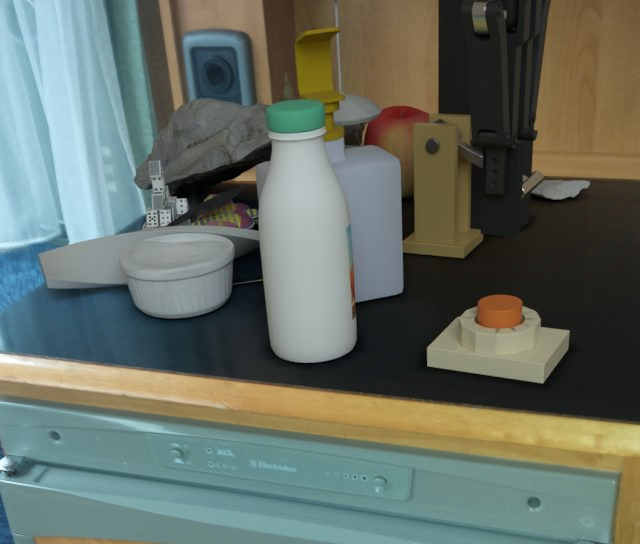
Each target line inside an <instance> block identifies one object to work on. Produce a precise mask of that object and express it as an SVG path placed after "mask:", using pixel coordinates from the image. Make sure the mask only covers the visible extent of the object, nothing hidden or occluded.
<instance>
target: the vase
mask: <svg viewBox="0 0 640 544" xmlns="http://www.w3.org/2000/svg"><path fill="white" fill-rule="evenodd" d="M437 1H438V3H437V5H438V9H437V10H438V12H437V13H438V14H437V15H438V26H437V27H438V29H437V33H438V34H437V35H438V38H437V39H438V40H437V41H438V42H437V45H438V50H437V51H438V52H437V53H438V54H437V55H438V56H437V57H438V58H437V60H438V61H437V63H438V64H437V65H438V66H437V67H438V69H437V70H438V71H437V73H438V74H437V75H438V77H437V79H438V83H437V84H438V89H437V91H438V93H437V94H438V95H437V97H438V100H437V101H438V103H437V106H438V109H437V112H438V113H437V114H460V115H470V99H469V82H468V66H467V49H466V37H465V33H464V28H463V23H462V19H461V7H462V3H463V1H465V0H437ZM528 129H529V130H535V124H534V125H532V126H531V125H528ZM521 143H525V147H524V166H523V175H525V176H526V177H529V176H530V175H531V174H532V173H533V172H532V171H533V156H534V154H533V153H534V152H533V151H534V141H526V140H521ZM473 148H475V149H477V150H479V151H481V152H483V147H473ZM482 171H483V168H481V167H479V166H477V165H476V164H474V163H472V162H471V216H470V229H480V230H481V203H482ZM530 209H531V193H530V194H528V195H527V196H526V197H525V198H524V199H523V200H522V203H521V221H520V229H522V228H524V227H525V226H526V225H527V224H528V223H529V222H530V213H531V212H530V211H531V210H530ZM483 236H488V235H487V234H483Z"/></svg>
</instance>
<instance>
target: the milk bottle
mask: <svg viewBox="0 0 640 544" xmlns="http://www.w3.org/2000/svg"><path fill="white" fill-rule="evenodd" d="M269 105H270V106H269V107H268V108H267V109H266V121H267V127H268V129H269V130H268V131H269V134H268V137H269V138H271V141H272V154H271V160H270V166H269V170H268V174H267V177H266V180H265V183H264V186H263V190H262V193H261V197H260V202H258V210H259V214H258V223H257V224H258V231H259V239H260V247H259V251H260V260H261V271H262V276H263V290H264V300H265V308H266V317H267V318H266V319H267V328H268V337H269V342H270V348H271V350H272V351H273V353H274V354H275V355H276V356H277V357H278V358H280V359H282V360H285V361H288V362H293V363H300V364H301V363H304V364H309V363H313V364H314V363H322V362H328V361H332V360H336V359H338V358H341V357H343V356H345V355H347V354H348V353H350V352H351V351H352V350H354V347H355V346H356V343H357V340H358V329H357V328H358V327H357V309H356V308H357V307H356V305H357V304H356V303H355V287H354V268H353V252H352V236H351V225H350V214H349V209H348V203H347V200H346V196H345V193H344V190H343V188H342V186H341V183H340V181H339V179H338V177H337V175H336V174H335V172H334V170H333V167H332V165H331V163H330V160H329V158H328V155H327V152H326V148H325V144H324V134H325V133H326V129H325V122H326V114H325V107H324V104H323V103H322V102H320V101H317V100H310V99H301V98H300V99H299V98H298V99H288V100H282V101H277V102H275V103H272V104H269Z"/></svg>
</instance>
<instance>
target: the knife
mask: <svg viewBox="0 0 640 544" xmlns="http://www.w3.org/2000/svg"><path fill="white" fill-rule="evenodd" d="M261 281H263V275H262V276H257V277H251V278H245V279H241V280H235V281H232V286H233V285H241V284H247V283H254V282H261Z"/></svg>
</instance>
